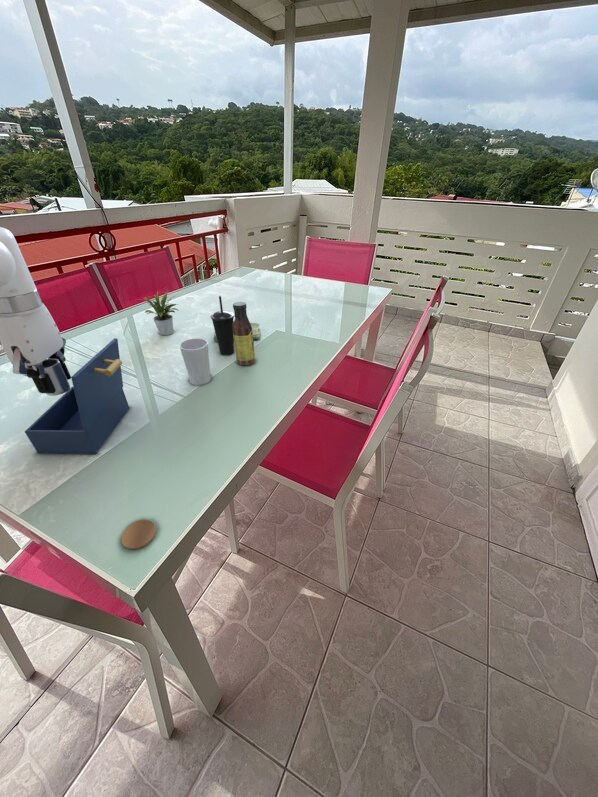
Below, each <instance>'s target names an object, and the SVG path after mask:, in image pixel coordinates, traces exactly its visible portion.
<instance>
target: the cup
mask: <svg viewBox="0 0 598 797" xmlns="http://www.w3.org/2000/svg"><path fill="white" fill-rule="evenodd" d="M178 347H179V350H180V353H181V357H182V358H183V362H184V366H185V368H186V372H187V375H188V379H189V383H190V384H191V385H194V386H202V385H206V384H207V383H209V382H211V380H212V377H211V368H210V367H211V366H210V358H209V357H210V356H209V342H208V340H207V339H204V338H201V337H200V338H199V337H196V338H195V337H193V338H188V339H185V340H182V341H181V342H180V343H179V344H178Z"/></svg>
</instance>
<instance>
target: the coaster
mask: <svg viewBox="0 0 598 797" xmlns="http://www.w3.org/2000/svg"><path fill="white" fill-rule="evenodd" d="M156 533H157V527H156V524H155V523H154V522H153V521H152V520H151V519H139V520H136V521H134V522H132V523H131V524H129V525H128V526H127V527H126V528H125V529H124V531H122V535H121V538H120V539H121V544H122V546H123V548H125V549H127V550H131V551H135V550H141V549H142V548H144V547H146V546H148V545H149V544H150V543H151V542H152V541H153V540H154V538H155V536H156Z"/></svg>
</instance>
